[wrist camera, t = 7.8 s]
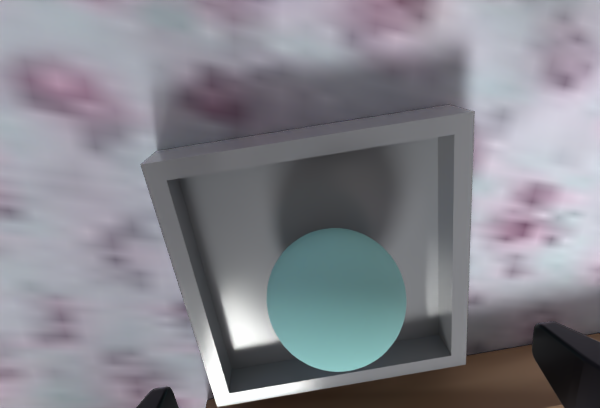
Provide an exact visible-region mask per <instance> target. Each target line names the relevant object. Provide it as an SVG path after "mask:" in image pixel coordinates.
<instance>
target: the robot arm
mask: <svg viewBox="0 0 600 408" xmlns="http://www.w3.org/2000/svg"><path fill="white" fill-rule="evenodd" d="M532 354H533V357H534V359H535V361H536V362H537V364H538V366H539V367H540V369H541V371H542V372H543V374H544V376H545V377H546V379H547V381H548V382H549V384H550V386H551V387H552V389H553V390H554V392H555V394H556V395H557V397H558V399H559V400H560V402H561V404H562V405H563V407H564V408H600V342H599V341H597V340H594V339H592V338H590V337H588V336H586V335H583V334H581V333H579V332H577V331H575V330H572V329H570V328H568V327H566V326H564V325H561V324H559V323H557V322H554V321H549V322H543V323H538V324H536V325H535V327H534V334H533V342H532ZM136 408H179V407H178V405H177V402H176V399H175V397H174V394H173V391H172V389H171V388H170V387H161V388H155V389H153V390H151V391H150V392H149V393H148V394H147V396H146V397H145V398H144V399H143V400H142V401H141V403H140V404H139V405H138V406H137V407H136Z"/></svg>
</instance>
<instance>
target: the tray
mask: <svg viewBox="0 0 600 408" xmlns="http://www.w3.org/2000/svg"><path fill="white" fill-rule="evenodd" d="M474 113H475V111H471V110H467V109H464V108H460V107H456V106H453V105H443V106H437V107H430V108H424V109H418V110H411V111H405V112H399V113H393V114H386V115H380V116H374V117H367V118H361V119H355V120H348V121H342V122H336V123H329V124H323V125H317V126H310V127H304V128H298V129H291V130H285V131H279V132H273V133H266V134H260V135H254V136H247V137H241V138H235V139H228V140H222V141H216V142H209V143H203V144H197V145H190V146H184V147H178V148H171V149H165V150H159V151H156V152H155V153H154V154H152V155H151V156H150V157H149V158H148V159H146V160H145V161H144V162H143V163H142V164H140V165H141V168H142V171H143V174H144V177H145V180H146V184H147V187H148V190H149V193H150V196H151V199H152V202H153V206H154V209H155V212H156V215H157V218H158V221H159V225H160V228H161V231H162V234H163V237H164V240H165V244H166V247H167V250H168V253H169V256H170V259H171V262H172V266H173V269H174V272H175V275H176V278H177V281H178V285H179V288H180V291H181V294H182V297H183V300H184V303H185V307H186V310H187V313H188V316H189V319H190V322H191V326H192V329H193V332H194V335H195V338H196V341H197V345H198V348H199V351H200V354H201V357H202V360H203V363H204V367H205V370H206V373H207V376H208V379H209V382H210V386H211V389H212V392H213V395H214V398H215V401H216V405H217V407H221V406H227V405H233V404H239V403H244V402H250V401H256V400H262V399H268V398H274V397H280V396H285V395H291V394H297V393H303V392H309V391H315V390H320V389H326V388H332V387H338V386H344V385H350V384H355V383H361V382H367V381H373V380H379V379H385V378H391V377H396V376H402V375H408V374H414V373H420V372H426V371H431V370H437V369H443V368H449V367H455V366H461V365H466V346H467V317H468V288H469V259H470V230H471V200H472V171H473V142H474ZM328 228H343V229H349V230H353V231H356V232H359V233H362V234H364V235H366V236H368V237H370V238H371V239H373V240H374V241H376V242H377V243H378V244H380V245H381V246H382V247H383V248H384V249H385V250H386V251H387V252H388V253H389V254H390V255H391V257H392V258H393V260H394V261H395V263H396V264H397V266H398V268H399V270H400V272H401V275H402V278H403V281H404V285H405V290H406V300H407V301H406V313H405V319H404V322H403V325H402V328H401V330H400V333H399V335H398V337H397V338H396V340H395V341H394V343H393V344H392V345H391V347H390V348H389V349H388V350H387V351H386V352H385V353H384V354H383V355H382V356H381V357H380V358H378V359H377V360H375V361H374V362H372V363H371V364H368V365H366V366H364V367H362V368H359V369H355V370H351V371H344V372H332V371H326V370H321V369H318V368H314V367H312V366H310V365H308V364H306V363H304V362H302V361H301V360H299V359H297V358H296V357H295V356H294V355H292V354H291V353H290V352H289V351H288V350H287V349H286V348H285V347H284V346H283V344H282V343H281V341H280V340H279V338H278V337H277V335H276V334H275V331H274V329H273V327H272V325H271V322H270V319H269V315H268V309H267V287H268V281H269V278H270V275H271V272H272V269H273V267H274V265H275V263H276V262H277V260H278V259H279V257H280V256H281V254H282V253H283V252H284V251H285V249H286V248H287V247H288V246H290V245H291V244H292V243H293V242H294V241H296V240H297V239H299V238H300V237H302V236H304V235H306V234H308V233H311V232H314V231H317V230H321V229H328Z"/></svg>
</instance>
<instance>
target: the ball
mask: <svg viewBox="0 0 600 408" xmlns="http://www.w3.org/2000/svg"><path fill="white" fill-rule="evenodd" d="M406 301H407V300H406V290H405V285H404V281H403V278H402V275H401V272H400V270H399V268H398V266H397V264H396V263H395V261H394V260H393V258H392V257H391V255H390V254H389V253H388V252H387V251H386V250H385V249H384V248H383V247H382V246H381V245H380V244H378V243H377V242H376V241H374V240H373V239H371V238H370V237H368V236H366V235H364V234H362V233H359V232H356V231H353V230H349V229H343V228H328V229H321V230H317V231H314V232H311V233H308V234H306V235H304V236H302V237H300V238H299V239H297V240H296V241H294V242H293V243H292V244H291V245H290V246H288V247H287V248H286V249H285V251H284V252H283V253H282V254H281V256H280V257H279V259H278V260H277V262H276V263H275V265H274V267H273V269H272V272H271V275H270V278H269V281H268V287H267V309H268V315H269V319H270V322H271V325H272V327H273V329H274V331H275V334H276V335H277V337H278V338H279V340H280V341H281V343H282V344H283V346H284V347H285V348H286V349H287V350H288V351H289V352H290V353H291V354H292V355H294V356H295V357H296V358H297V359H299V360H301V361H302V362H304V363H306V364H308V365H310V366H312V367H314V368H318V369H321V370H326V371H332V372H344V371H351V370H355V369H359V368H362V367H364V366H366V365H368V364H371V363H372V362H374V361H375V360H377V359H378V358H380V357H381V356H382V355H383V354H384V353H385V352H386V351H387V350H388V349H389V348H390V347H391V345H392V344H393V343H394V341H395V340H396V338H397V337H398V335H399V333H400V330H401V328H402V325H403V322H404V319H405V313H406Z"/></svg>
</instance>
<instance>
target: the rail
mask: <svg viewBox="0 0 600 408" xmlns="http://www.w3.org/2000/svg"><path fill="white" fill-rule="evenodd" d="M586 336H588V337H590V338H592V339H594V340H597V341H599V342H600V333H597V334H591V335H586ZM206 408H564V407H563V405H562V404H561V402H560V400H559V399H558V397H557V395H556V394H555V392H554V390H553V389H552V387H551V386H550V384H549V382H548V381H547V379H546V377H545V376H544V374H543V372H542V371H541V369H540V367H539V366H538V364H537V362H536V361H535V359H534V357H533V354H532V345H527V346H521V347H515V348H509V349H503V350H497V351H491V352H486V353H480V354H474V355H468V356H466V365H461V366H455V367H449V368H443V369H437V370H431V371H426V372H420V373H414V374H408V375H402V376H396V377H391V378H385V379H379V380H373V381H367V382H361V383H355V384H350V385H344V386H338V387H332V388H326V389H320V390H315V391H309V392H303V393H297V394H291V395H285V396H280V397H274V398H268V399H262V400H256V401H250V402H244V403H239V404H233V405H227V406H221V407H217V405H216V401H215V399H210V400H207V404H206Z"/></svg>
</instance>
